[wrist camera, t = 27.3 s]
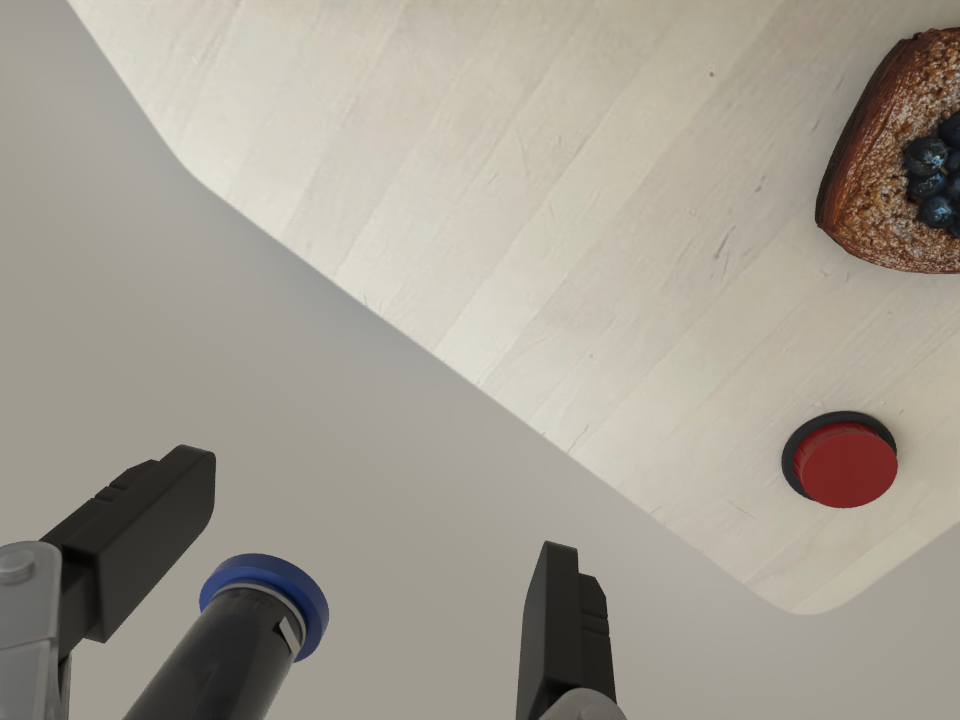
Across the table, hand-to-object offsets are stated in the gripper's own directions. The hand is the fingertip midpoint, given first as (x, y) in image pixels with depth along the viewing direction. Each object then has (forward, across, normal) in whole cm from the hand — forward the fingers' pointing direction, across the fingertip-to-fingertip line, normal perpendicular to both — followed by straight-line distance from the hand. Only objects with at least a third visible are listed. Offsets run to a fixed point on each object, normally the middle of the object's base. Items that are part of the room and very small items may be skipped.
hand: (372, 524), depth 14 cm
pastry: (+26, -22, -12) cm, 36 cm away
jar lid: (+24, -26, +7) cm, 36 cm away
